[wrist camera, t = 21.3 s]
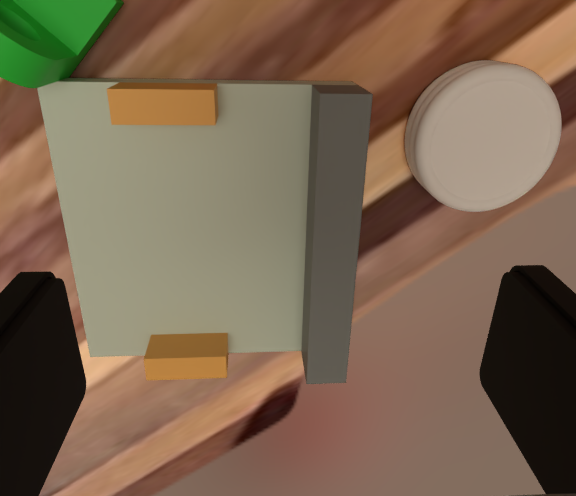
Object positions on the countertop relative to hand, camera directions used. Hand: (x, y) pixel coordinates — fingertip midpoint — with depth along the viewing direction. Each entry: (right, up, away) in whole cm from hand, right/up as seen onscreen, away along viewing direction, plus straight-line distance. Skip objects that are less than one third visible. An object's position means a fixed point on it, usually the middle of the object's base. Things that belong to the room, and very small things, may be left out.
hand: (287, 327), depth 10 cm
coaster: (+13, +10, +25) cm, 30 cm away
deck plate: (-6, +3, +26) cm, 27 cm away
